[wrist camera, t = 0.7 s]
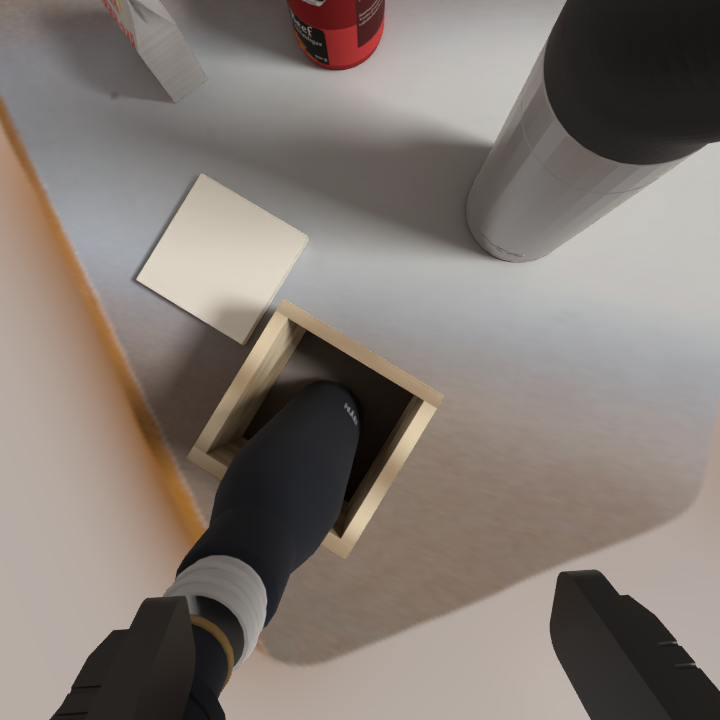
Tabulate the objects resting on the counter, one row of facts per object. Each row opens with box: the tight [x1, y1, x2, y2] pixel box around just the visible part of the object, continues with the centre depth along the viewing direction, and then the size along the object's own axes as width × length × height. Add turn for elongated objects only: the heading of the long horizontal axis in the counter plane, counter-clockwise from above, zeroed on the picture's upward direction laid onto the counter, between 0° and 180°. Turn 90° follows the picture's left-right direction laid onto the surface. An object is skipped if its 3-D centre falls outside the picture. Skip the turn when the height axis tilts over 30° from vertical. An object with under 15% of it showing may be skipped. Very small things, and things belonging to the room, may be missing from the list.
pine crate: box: [186, 299, 444, 559], centre depth 33 cm, size 13×13×8 cm
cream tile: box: [136, 173, 309, 345], centre depth 38 cm, size 11×11×1 cm
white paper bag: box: [101, 0, 208, 103], centre depth 34 cm, size 4×7×10 cm, turn 35°
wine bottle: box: [50, 381, 363, 720], centre depth 22 cm, size 6×6×30 cm
